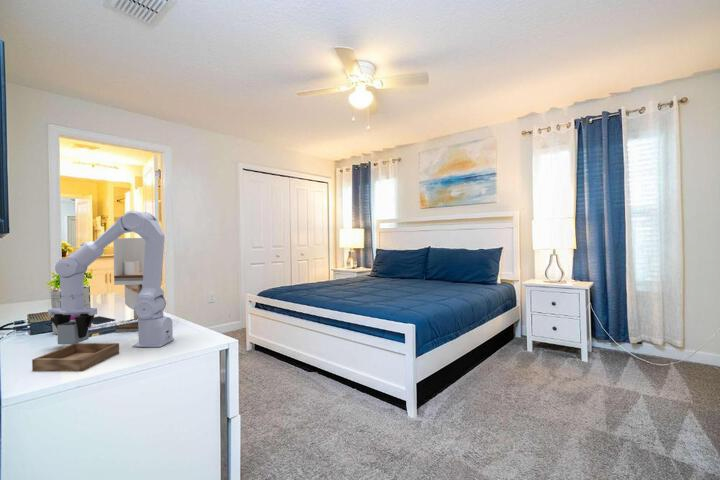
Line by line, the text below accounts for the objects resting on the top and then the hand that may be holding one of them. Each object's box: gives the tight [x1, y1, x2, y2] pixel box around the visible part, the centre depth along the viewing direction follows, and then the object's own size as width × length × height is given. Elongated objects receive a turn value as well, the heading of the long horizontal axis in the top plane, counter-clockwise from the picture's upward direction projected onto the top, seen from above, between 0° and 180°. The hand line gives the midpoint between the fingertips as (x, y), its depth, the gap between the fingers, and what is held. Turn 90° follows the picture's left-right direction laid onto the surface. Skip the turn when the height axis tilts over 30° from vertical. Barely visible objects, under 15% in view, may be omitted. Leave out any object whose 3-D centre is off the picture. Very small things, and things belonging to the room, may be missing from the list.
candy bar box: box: [50, 285, 92, 336], centre depth 130 cm, size 11×5×16 cm, turn 168°
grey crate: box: [57, 321, 90, 345], centre depth 110 cm, size 5×5×6 cm
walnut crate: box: [31, 342, 120, 372], centre depth 98 cm, size 14×14×4 cm
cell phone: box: [91, 315, 116, 325], centre depth 145 cm, size 7×14×1 cm, turn 62°
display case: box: [112, 237, 146, 333], centre depth 133 cm, size 11×11×35 cm
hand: (73, 337), depth 111 cm, fingers closed on grey crate, 5 cm apart
